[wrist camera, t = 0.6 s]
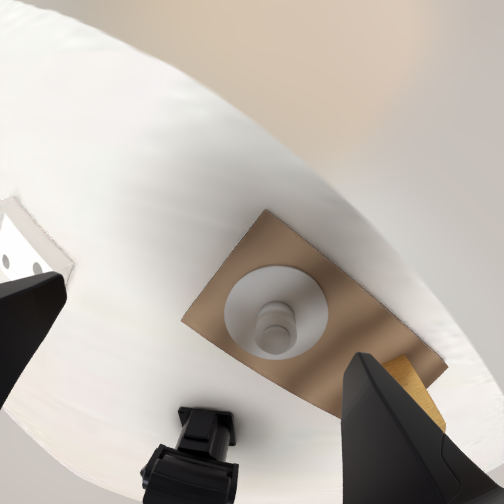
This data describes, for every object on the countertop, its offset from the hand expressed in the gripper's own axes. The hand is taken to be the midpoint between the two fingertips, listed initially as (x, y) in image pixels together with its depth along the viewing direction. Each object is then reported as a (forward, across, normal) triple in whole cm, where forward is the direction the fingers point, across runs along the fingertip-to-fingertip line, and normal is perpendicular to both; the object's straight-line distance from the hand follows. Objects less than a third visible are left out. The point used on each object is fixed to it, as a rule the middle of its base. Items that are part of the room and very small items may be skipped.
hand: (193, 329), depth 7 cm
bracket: (+15, +25, +10) cm, 31 cm away
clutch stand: (+15, -10, +11) cm, 21 cm away
